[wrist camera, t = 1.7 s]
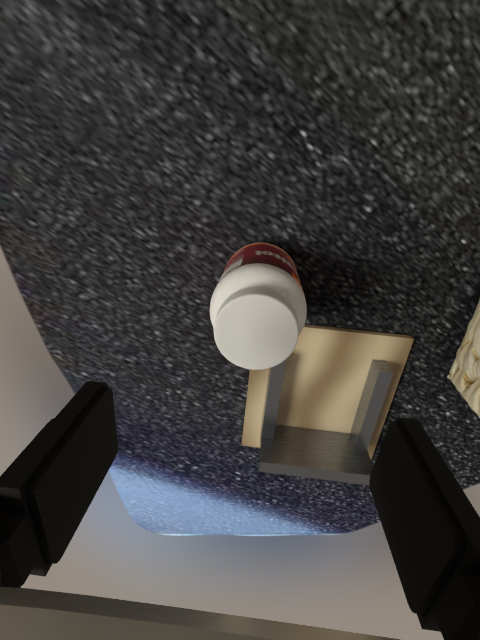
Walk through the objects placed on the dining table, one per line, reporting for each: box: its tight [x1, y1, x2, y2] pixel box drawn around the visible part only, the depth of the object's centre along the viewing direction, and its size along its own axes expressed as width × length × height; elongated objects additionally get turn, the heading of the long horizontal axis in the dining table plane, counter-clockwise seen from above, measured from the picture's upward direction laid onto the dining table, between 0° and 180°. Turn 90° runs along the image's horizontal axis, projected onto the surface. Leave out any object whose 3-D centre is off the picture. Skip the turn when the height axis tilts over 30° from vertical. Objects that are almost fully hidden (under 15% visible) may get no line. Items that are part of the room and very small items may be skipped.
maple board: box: [242, 324, 414, 459], centre depth 32 cm, size 14×15×1 cm
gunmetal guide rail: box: [259, 359, 393, 485], centre depth 29 cm, size 10×10×5 cm
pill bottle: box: [210, 243, 307, 370], centre depth 22 cm, size 6×6×11 cm
